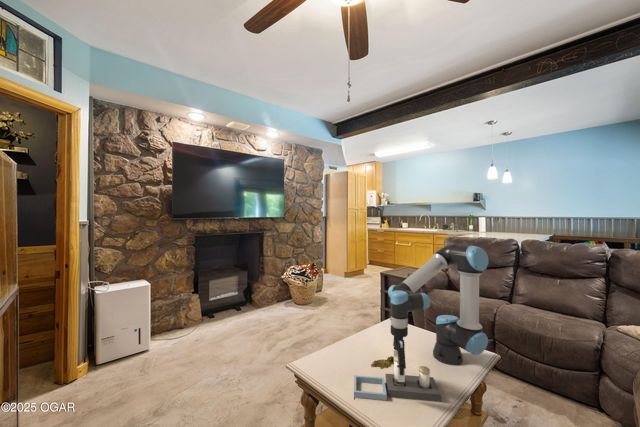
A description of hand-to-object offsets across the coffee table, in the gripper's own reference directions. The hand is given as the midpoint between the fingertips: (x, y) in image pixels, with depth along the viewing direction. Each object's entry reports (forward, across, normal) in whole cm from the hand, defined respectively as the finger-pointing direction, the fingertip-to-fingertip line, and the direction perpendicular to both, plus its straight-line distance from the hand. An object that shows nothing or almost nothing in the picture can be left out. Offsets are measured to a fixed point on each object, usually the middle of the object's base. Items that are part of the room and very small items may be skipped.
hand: (398, 372), depth 121 cm
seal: (+9, -20, -5) cm, 22 cm away
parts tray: (+9, +2, -13) cm, 16 cm away
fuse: (+8, 0, +11) cm, 14 cm away
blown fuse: (+8, 0, 0) cm, 8 cm away
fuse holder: (+9, 0, +6) cm, 10 cm away
